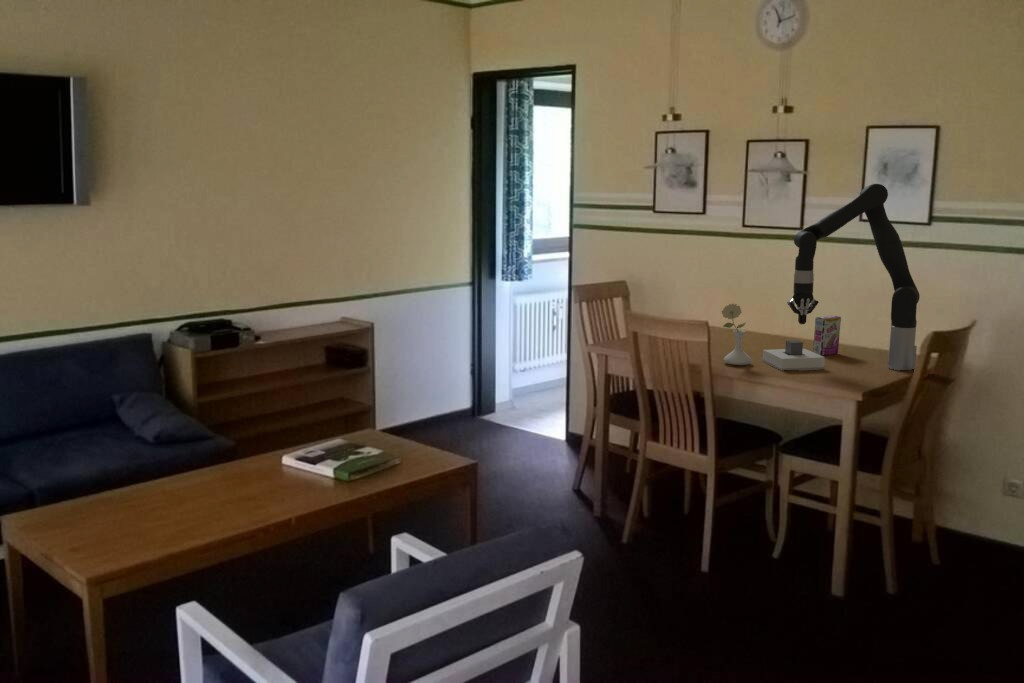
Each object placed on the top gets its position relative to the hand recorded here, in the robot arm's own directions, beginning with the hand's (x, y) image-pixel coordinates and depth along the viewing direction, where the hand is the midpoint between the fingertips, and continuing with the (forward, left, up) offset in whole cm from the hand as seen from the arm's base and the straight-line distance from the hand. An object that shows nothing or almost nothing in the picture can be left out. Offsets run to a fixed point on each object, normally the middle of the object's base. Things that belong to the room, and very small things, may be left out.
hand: (802, 323), depth 378 cm
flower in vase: (+25, -6, -17) cm, 31 cm away
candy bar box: (-21, -19, -17) cm, 33 cm away
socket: (+3, 0, -17) cm, 17 cm away
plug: (+3, 0, -16) cm, 16 cm away
